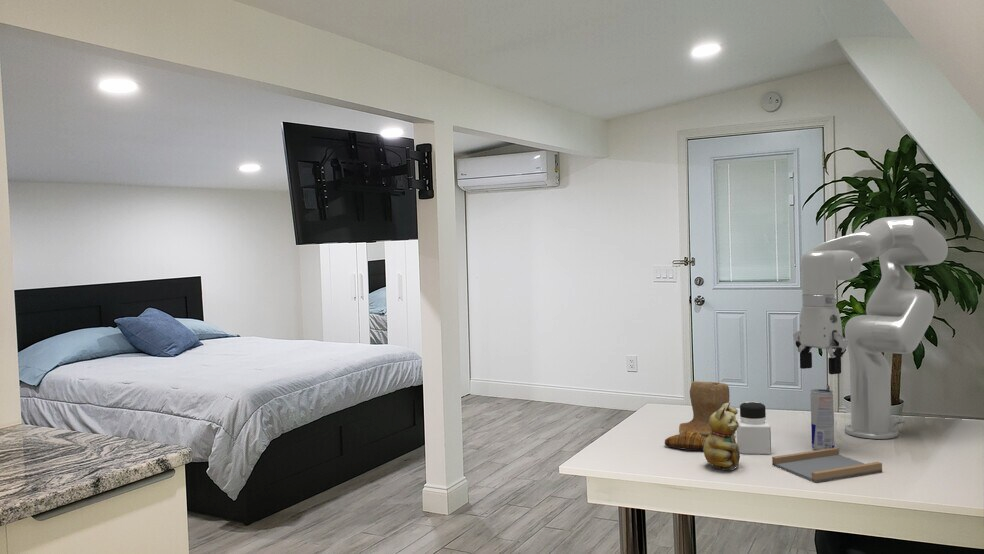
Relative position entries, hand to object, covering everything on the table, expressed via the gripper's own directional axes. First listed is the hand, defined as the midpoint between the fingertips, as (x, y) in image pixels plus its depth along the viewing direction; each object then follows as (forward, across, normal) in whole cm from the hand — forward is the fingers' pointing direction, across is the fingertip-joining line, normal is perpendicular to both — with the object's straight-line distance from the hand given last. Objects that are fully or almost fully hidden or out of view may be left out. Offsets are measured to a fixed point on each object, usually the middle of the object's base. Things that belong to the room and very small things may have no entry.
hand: (820, 370), depth 178 cm
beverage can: (+20, 0, -1) cm, 20 cm away
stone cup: (+20, +25, +16) cm, 36 cm away
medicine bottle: (+20, +7, +14) cm, 26 cm away
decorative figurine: (+20, -1, +29) cm, 36 cm away
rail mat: (+20, -12, +9) cm, 25 cm away
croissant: (+20, +15, +27) cm, 37 cm away
